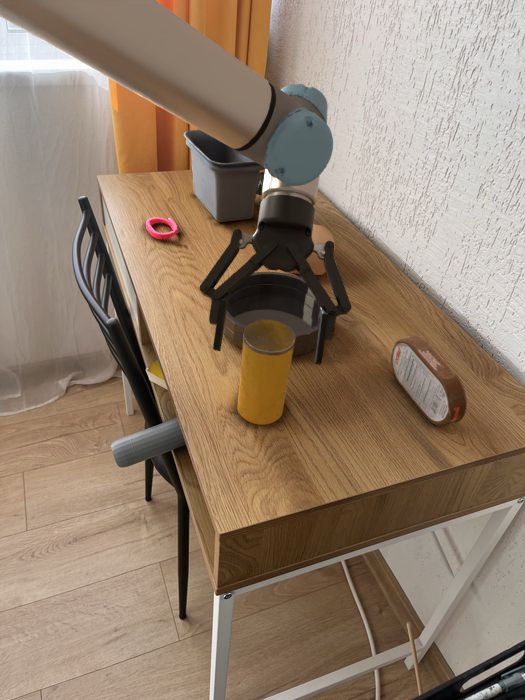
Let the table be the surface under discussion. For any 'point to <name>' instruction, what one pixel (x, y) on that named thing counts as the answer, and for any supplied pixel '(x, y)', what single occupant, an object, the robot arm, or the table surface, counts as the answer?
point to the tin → (428, 381)
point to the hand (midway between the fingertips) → (267, 357)
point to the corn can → (264, 370)
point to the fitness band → (161, 235)
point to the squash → (316, 264)
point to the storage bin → (222, 177)
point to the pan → (274, 308)
